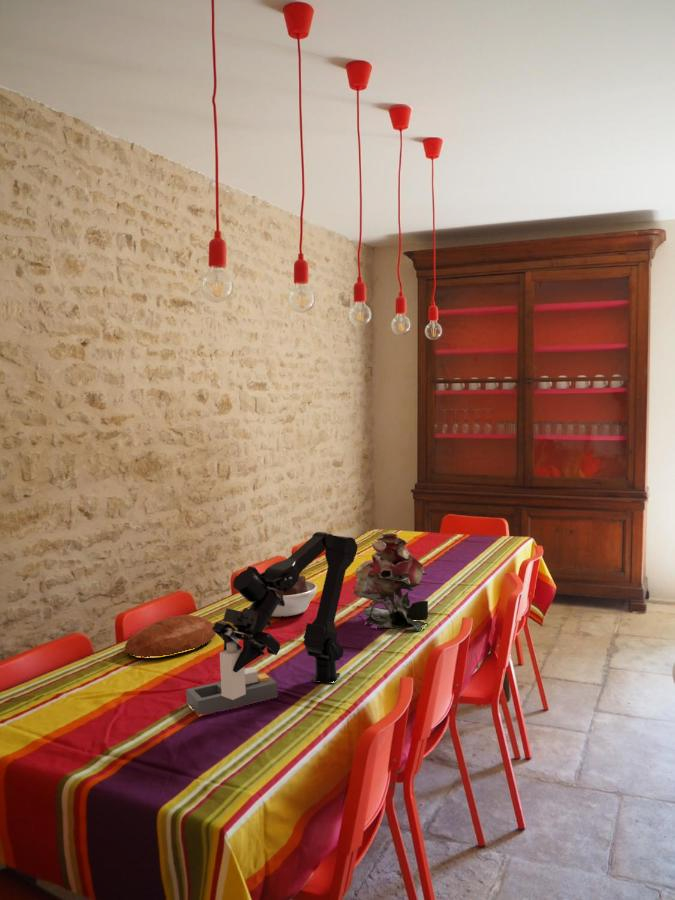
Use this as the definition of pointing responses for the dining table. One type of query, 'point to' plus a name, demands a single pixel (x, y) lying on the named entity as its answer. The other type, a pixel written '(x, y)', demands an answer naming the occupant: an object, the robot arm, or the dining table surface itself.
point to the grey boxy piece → (212, 699)
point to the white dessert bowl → (296, 598)
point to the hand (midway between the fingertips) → (228, 669)
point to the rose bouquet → (391, 583)
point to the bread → (170, 636)
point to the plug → (231, 673)
